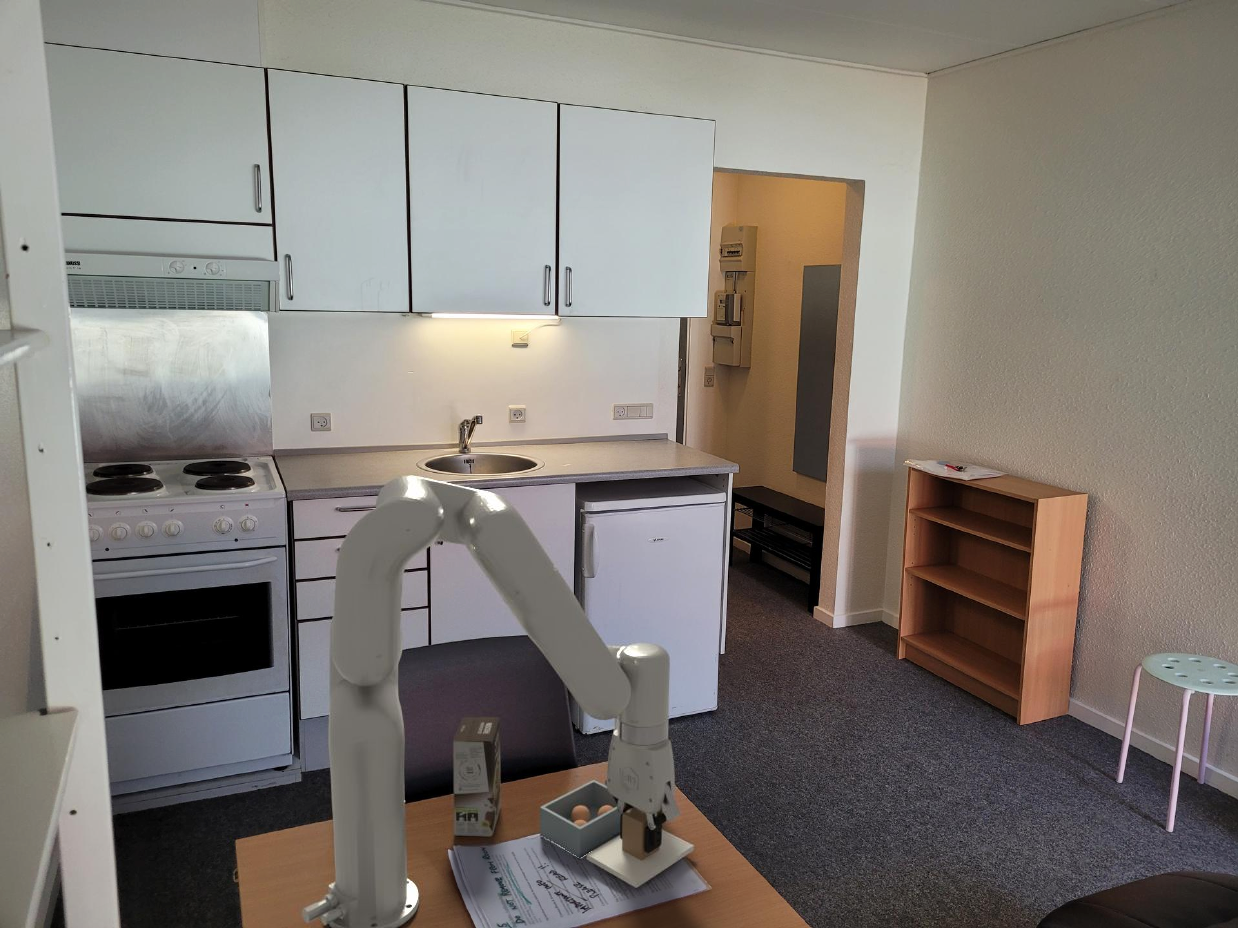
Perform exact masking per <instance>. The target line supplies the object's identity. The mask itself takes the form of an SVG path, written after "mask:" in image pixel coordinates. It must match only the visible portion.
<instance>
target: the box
mask: <svg viewBox="0 0 1238 928" xmlns="http://www.w3.org/2000/svg"><path fill="white" fill-rule="evenodd" d="M580 805H582V806H585V807H586V808H587V809H588V810H589V812H590V818H589V821H588V822H587V823H586V824H584V825H582V826H581V827H580V826H578V825H576V824H574V822H573V821H572V818H571V813H572V811H573V809H574V808H575V807H577V806H580ZM605 805H609V806H611V807H613V809H611V810H610V811H608V812H606V813H604V814H602V815H601V816H599V817H598V811H599V809H600V808H601V807H603V806H605ZM620 815H621V814H620V813H619V812H618V811H617V803H616V802H615V800H614V798H613V796H612V795H611V794H610V793H609V791H608V789H607V786H606V785H605V784H603V783H602V782H599V781H597V780H595V779H593V780H590V781H589V782H586V783H584V784H582V785H581V786H579V787H577V788H575V789H572V790H571V791H569V792H566V793H565V794H563V795H561V796H559V797H557V798H555V799H553V800H551V801H549V802H547V803H545V804H544V805H541V806H540V808H539V837H540V836H543V837H545V838H546V839H549V840H550V841H553V842H554V843H556V844H558V845H560V846H561V847H563V848H565V850H567V851H569V852H571V853H572V854H574V855H576V856H577V857H579V858H581V857H583V856H584V855H586V854H588V853H589V852H591V851H593V850H595V849H597V848H598V847H600V846H602V845H603V844H605V843H607V842H609V841H610V840H612V839H614V838H615V837H617V836H619V835H620Z"/></svg>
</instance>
